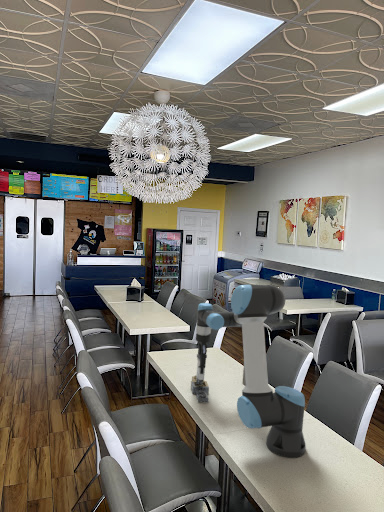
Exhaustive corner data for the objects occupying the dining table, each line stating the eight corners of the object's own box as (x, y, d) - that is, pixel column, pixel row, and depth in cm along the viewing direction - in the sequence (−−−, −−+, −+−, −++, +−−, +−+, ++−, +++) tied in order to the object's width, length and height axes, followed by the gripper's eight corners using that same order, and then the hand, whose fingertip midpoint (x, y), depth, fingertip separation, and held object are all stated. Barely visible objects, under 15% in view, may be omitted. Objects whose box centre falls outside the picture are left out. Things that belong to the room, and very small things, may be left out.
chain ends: (211, 402, 191) (212, 395, 191) (194, 402, 190) (195, 395, 190) (203, 380, 218) (203, 374, 217) (188, 380, 217) (189, 374, 216)
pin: (205, 385, 201) (207, 357, 200) (195, 385, 201) (197, 356, 200) (204, 381, 206) (206, 353, 205) (194, 381, 206) (196, 353, 205)
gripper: (213, 338, 194) (210, 384, 195) (208, 329, 210) (205, 371, 212) (198, 338, 193) (195, 384, 194) (194, 328, 210) (191, 371, 211)
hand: (200, 377), depth 203 cm, fingers closed on pin, 4 cm apart
